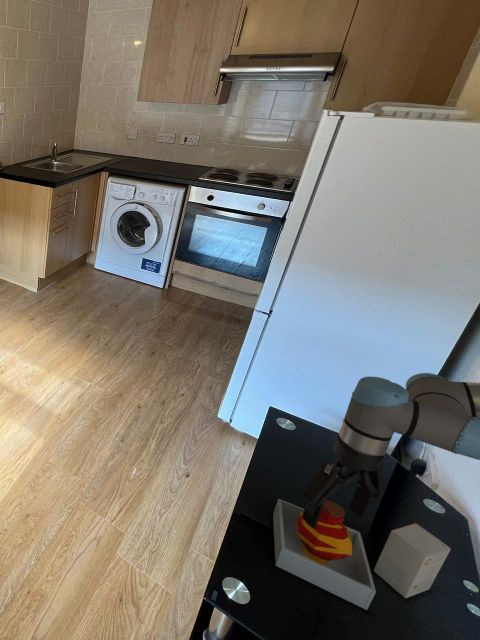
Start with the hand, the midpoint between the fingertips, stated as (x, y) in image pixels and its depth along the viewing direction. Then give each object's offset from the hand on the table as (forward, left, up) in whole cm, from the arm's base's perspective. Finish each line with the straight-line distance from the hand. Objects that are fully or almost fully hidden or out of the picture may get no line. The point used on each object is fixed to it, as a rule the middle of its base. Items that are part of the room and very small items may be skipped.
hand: (332, 518), depth 94 cm
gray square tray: (0, 0, -13) cm, 13 cm away
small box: (-16, -5, -13) cm, 21 cm away
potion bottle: (0, 0, -12) cm, 12 cm away
